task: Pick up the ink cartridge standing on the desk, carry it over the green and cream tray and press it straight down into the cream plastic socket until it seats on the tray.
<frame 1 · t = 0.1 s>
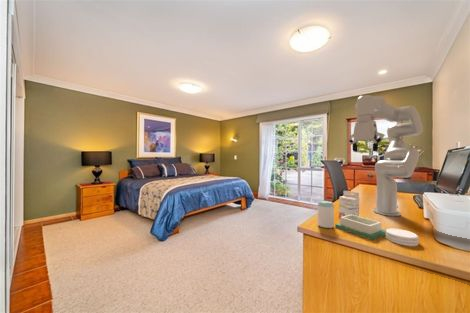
hand: (364, 151, 103), 37 cm above the table, tool pointing down, fingers open, 9 cm apart
green and cream tray: (359, 230, 88), on the table
ink cartridge box: (348, 219, 104), on the table
can: (325, 226, 93), on the table
white short cylinder: (401, 241, 78), on the table
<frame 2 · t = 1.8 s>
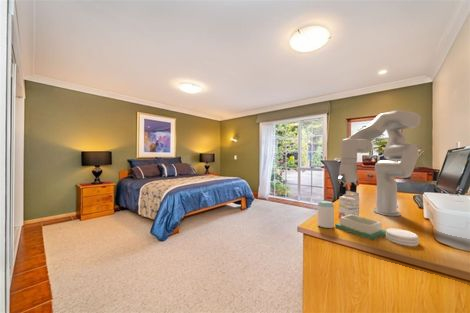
hand: (348, 193, 104), 14 cm above the table, tool pointing down, fingers open, 9 cm apart
nothing on the table moved.
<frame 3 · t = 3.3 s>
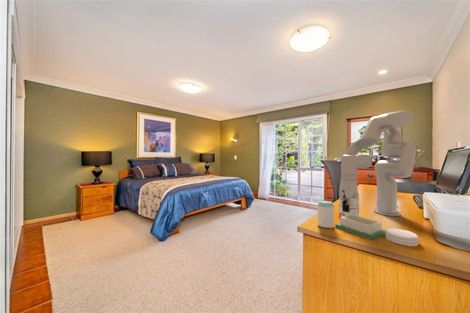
hand: (348, 210, 104), 4 cm above the table, tool pointing down, fingers closed on ink cartridge box, 5 cm apart
ink cartridge box: (348, 219, 104), on the table, touching gripper
everything else where it was.
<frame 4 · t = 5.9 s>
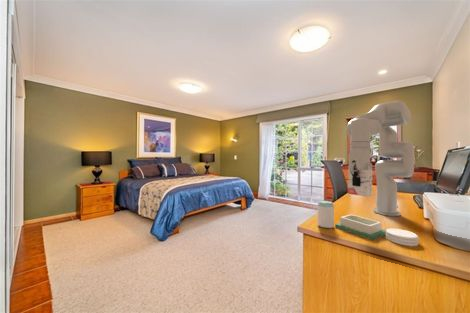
hand: (360, 185, 88), 21 cm above the table, tool pointing down, fingers closed on ink cartridge box, 5 cm apart
ink cartridge box: (359, 195, 88), point 16 cm above the table, touching gripper
everything else where it was.
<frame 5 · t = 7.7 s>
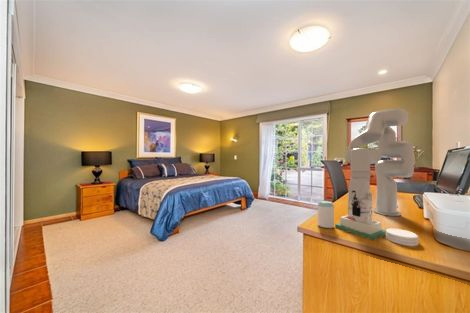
hand: (359, 214, 88), 7 cm above the table, tool pointing down, fingers closed on ink cartridge box, 5 cm apart
ink cartridge box: (359, 224, 88), point 3 cm above the table, touching gripper
everything else where it was.
when the fingers open (6 cm above the table, at t = 9.0 s): ink cartridge box stays where it is, resting on green and cream tray.
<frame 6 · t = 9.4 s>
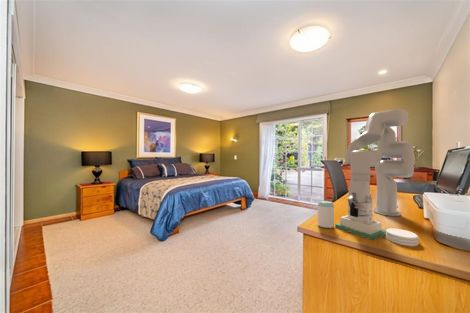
hand: (359, 214, 88), 7 cm above the table, tool pointing down, fingers open, 9 cm apart
ink cartridge box: (359, 227, 88), point 1 cm above the table, touching green and cream tray
everything else where it was.
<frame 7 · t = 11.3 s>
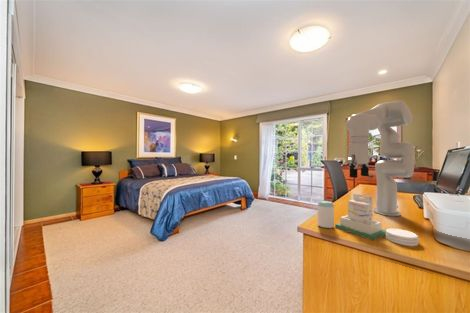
hand: (359, 176, 91), 24 cm above the table, tool pointing down, fingers open, 9 cm apart
nothing on the table moved.
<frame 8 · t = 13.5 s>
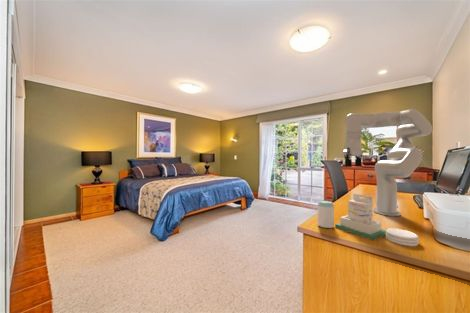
hand: (353, 166, 108), 28 cm above the table, tool pointing down, fingers open, 9 cm apart
nothing on the table moved.
at the end: ink cartridge box 0.1 cm off-centre on the green and cream tray, point 1.3 cm above the green and cream tray's base; ink cartridge box tilted 0°; the gripper is holding nothing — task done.
